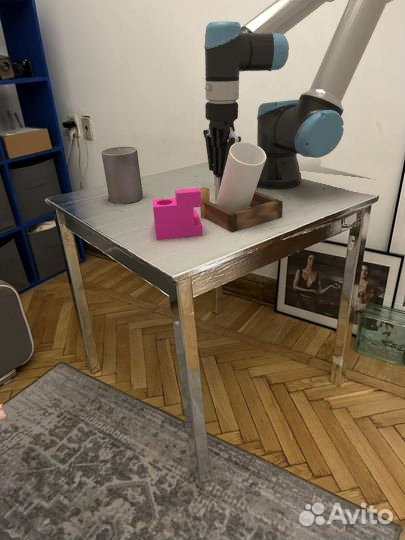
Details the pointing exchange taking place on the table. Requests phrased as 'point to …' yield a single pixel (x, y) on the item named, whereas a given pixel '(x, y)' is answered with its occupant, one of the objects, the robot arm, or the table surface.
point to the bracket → (178, 215)
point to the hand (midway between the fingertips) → (220, 200)
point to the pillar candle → (122, 174)
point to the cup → (241, 176)
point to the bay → (241, 211)
